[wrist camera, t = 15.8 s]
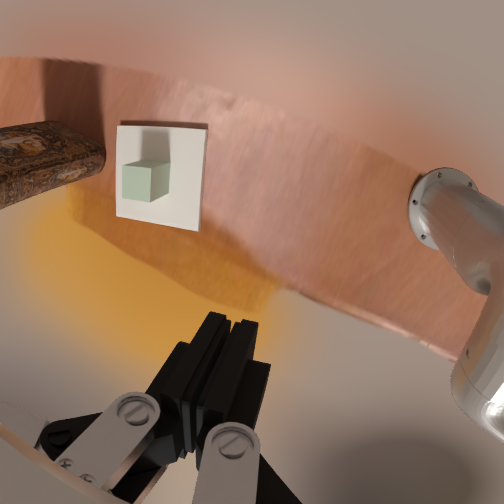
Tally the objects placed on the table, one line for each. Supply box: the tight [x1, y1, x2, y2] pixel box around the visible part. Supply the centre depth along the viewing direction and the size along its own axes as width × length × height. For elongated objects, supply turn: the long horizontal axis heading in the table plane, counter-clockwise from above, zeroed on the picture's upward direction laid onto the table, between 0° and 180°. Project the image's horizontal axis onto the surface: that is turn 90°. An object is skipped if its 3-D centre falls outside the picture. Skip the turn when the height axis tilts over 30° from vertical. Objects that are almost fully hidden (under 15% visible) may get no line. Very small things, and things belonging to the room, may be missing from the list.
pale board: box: [116, 125, 208, 231], centre depth 49 cm, size 16×16×1 cm
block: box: [122, 160, 171, 203], centre depth 45 cm, size 5×5×6 cm
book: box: [0, 121, 106, 209], centre depth 39 cm, size 16×6×25 cm, turn 62°
